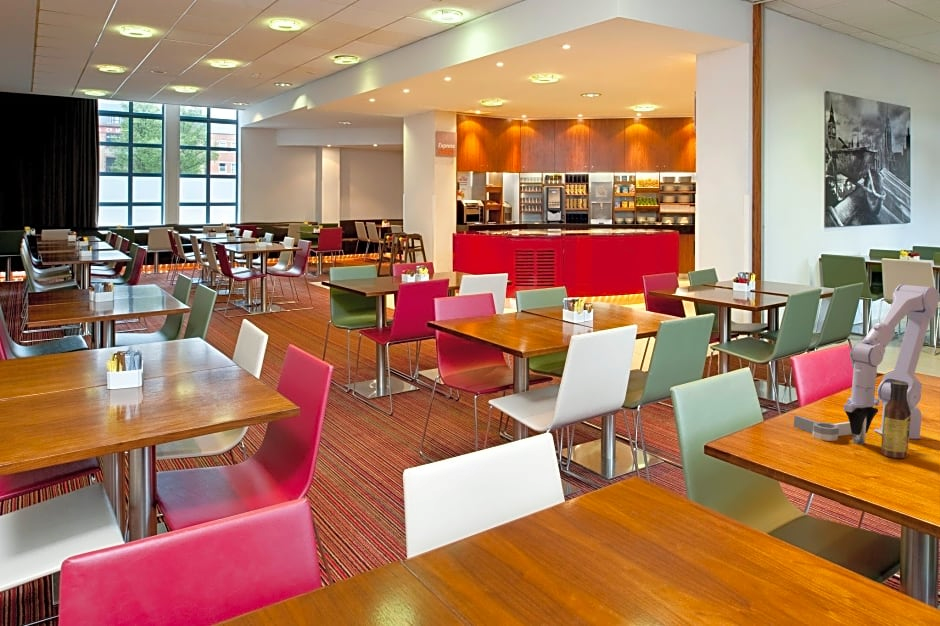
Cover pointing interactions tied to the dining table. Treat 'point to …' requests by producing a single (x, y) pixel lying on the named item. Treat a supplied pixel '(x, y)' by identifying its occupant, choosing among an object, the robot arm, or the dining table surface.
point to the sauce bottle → (896, 422)
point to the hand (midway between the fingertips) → (859, 433)
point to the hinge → (822, 428)
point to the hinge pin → (860, 438)
